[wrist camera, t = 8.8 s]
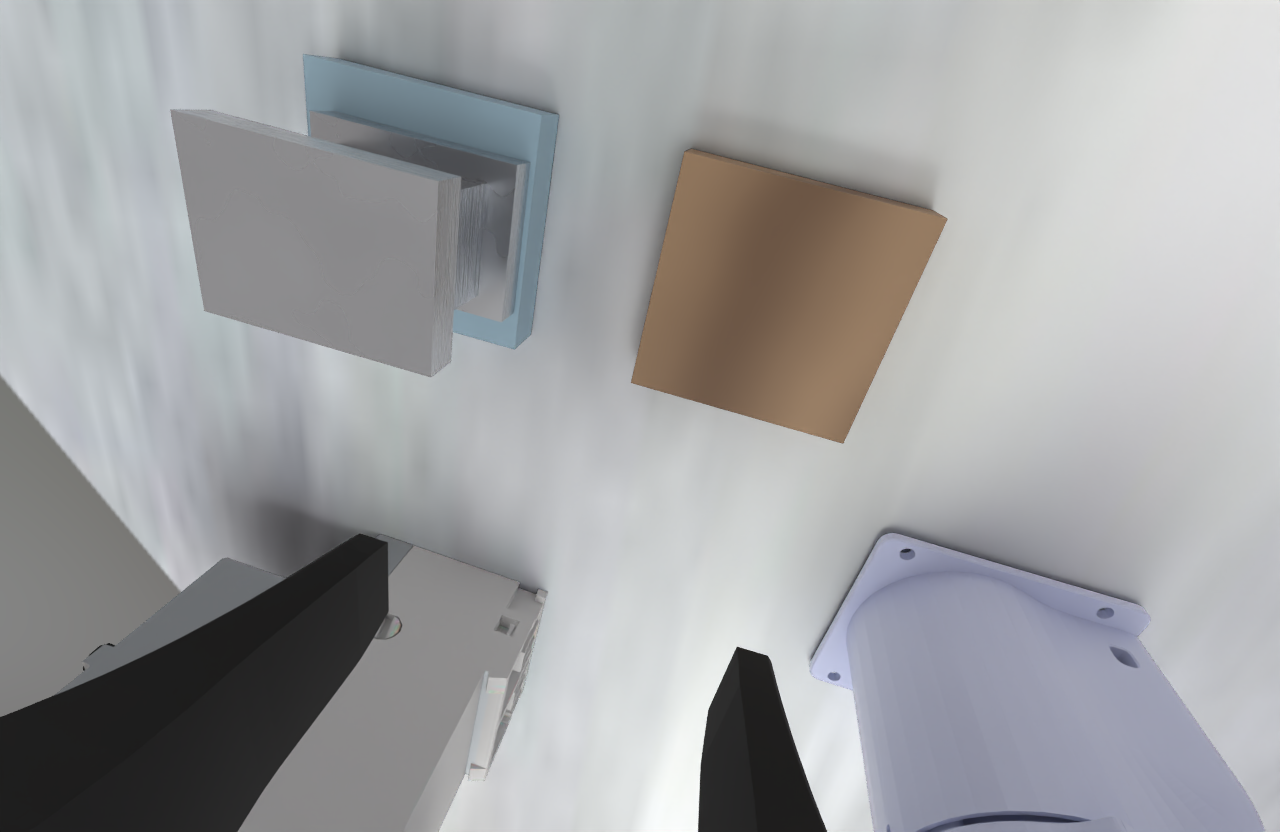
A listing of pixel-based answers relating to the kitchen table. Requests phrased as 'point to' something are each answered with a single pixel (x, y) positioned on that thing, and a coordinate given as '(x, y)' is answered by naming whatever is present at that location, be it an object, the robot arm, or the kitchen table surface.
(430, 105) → the stand
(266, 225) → the i-beam
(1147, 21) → the kitchen table surface
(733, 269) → the stand
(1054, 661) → the robot arm
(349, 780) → the circuit breaker
